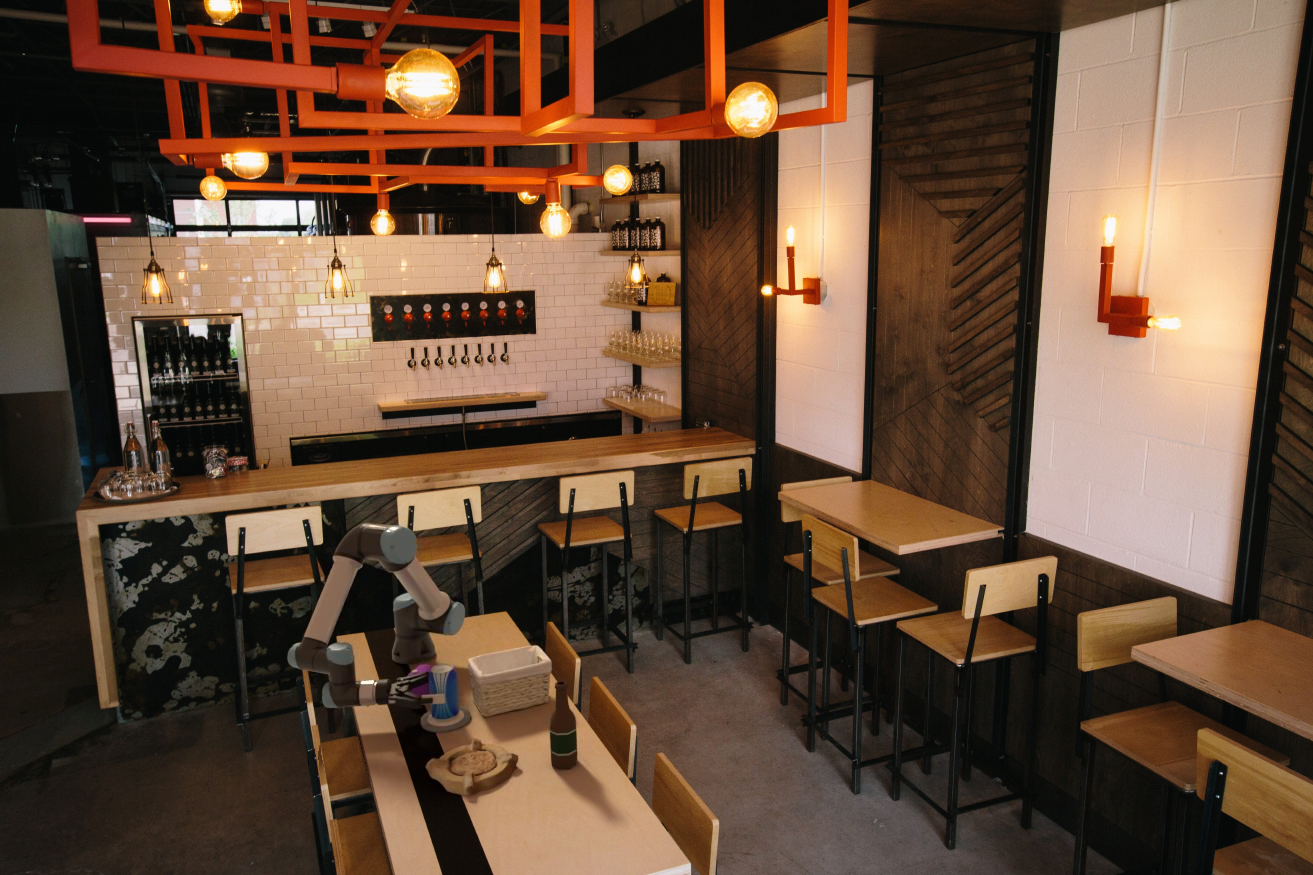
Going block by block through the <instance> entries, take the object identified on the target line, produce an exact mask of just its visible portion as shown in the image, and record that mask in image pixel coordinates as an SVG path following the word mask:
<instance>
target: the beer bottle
mask: <svg viewBox="0 0 1313 875" xmlns="http://www.w3.org/2000/svg"><path fill="white" fill-rule="evenodd" d="M568 688H569V686H568V682H567V681H565V680H560V681H556V682H555V684H554V689H555V707H554V708H555V709H554V711H553V712H552V714H551V717H550V719H549V720H550V721H549V742H550V743H549V744H550V747H549V748H550V760H551V761H550V762H551V763H550V764H551V767H552V768H554V769H556V770H558V771H566V770H571V769H573V768H575V767H576V766H577V765H578V740H577V739H578V736H577V734H578V733H577V732H578V731H577V718H576V716H575V713H574V712H573V710H571V708H570V704H569V697H568V696H569V694H568Z"/></svg>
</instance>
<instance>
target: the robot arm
mask: <svg viewBox="0 0 1313 875" xmlns="http://www.w3.org/2000/svg"><path fill="white" fill-rule="evenodd" d="M417 542H418V539H417V537H416V534H415V532H414V531H413V530H411V529H410V528H408V527H406V526H402V525H399V524H397V525H395V524H393V525H391V524H381V523H373V522H364V523H361V524H359V525H356V526H355V527H353V528H352V529H351V530H350V531H348V532H347V533H346V534H345V535H344V537H343V538H342V539H341V540H340V542H339V544H338V545H337V547H336V549H335V551H334V553H333V556H332V561H333V564H332V568H330V571H329V574H328V576H327V579H326V582H325V583H324V586H323V589H322V591H321V594H320V597H318V598H319V599H318V601H317V603H316V606H315V609H314V611H313V613H312V615H311V618H310V621H309V623H308V626H307V628H306V630H305V632H304V634H303V638H302V640H301V642H297V643H294V644H293V645H292V646H291V647H290V648H289V650H288V652H287V662H288V665H290V666H291V667H292V668H296V669H299V670H301V671H309V672H315V673H318V674H319V673H320V674H325V675H328V680H329V682H326V683H325V684H324V686H323V688H322V694H321V695H322V696H321V698H322V704H323V706H324V707H325V708H329V709H332V708H333V709H334V708H335V709H336V708H337V709H341V708H351V707H354V708H355V707H366V708H367V707H368V708H369V707H370V706H376V705H378V706H384V705H385V706H386V705H387V706H394V707H395V706H397V707H401V708H407V709H413V710H419V709H422V708H423V705H425V706H426V705H431V704H442V703H445V696H444V694H432V695H422V698H421V697H420V696H417V695H414V694H412V693H409V692H410V691H411V690H412V689H414V688H416V687H419V686H422V685H424V684H427V683H429V675H430V672H423V673H419V674H415V675H411V676H408V675H407V676H404V677H397V678H396V682H394V683H393V682H392V680H391V679H389V678H383V679H382V678H381V679H378V680H376V679H368V680H367V679H365V680H357V676H356V663H355V660H356V659H355V654H354V649H353V645H352V643H350V642H346V641H341V642H340V641H339V642H335V643H332V644H330V645H329V642H330V639H331V637H332V634H333V632H334V630H335V626H336V624H337V621H338V620H339V616H340V614H341V612H342V609H343V607H344V603H346V602H345V601H346V599H347V597H348V594H349V591H350V589H351V587H352V585H353V583H354V579H355V577H356V575H357V572H358V571H359V570H360V569H361V568H363V566H364V563H365V561H366V560H371V561H378V562H379V564H380V565H381V566H382V568H383V569H384V570H385V571H387V572H388V573H393V574H394V575H395V576H396V578H397V579H398V580H399V582H400V583H401V585H402V586H403V588H404V589H405V590H406V591H407V592H406V593H402V594H400V595H399V596H397V597H396V598H394V599H393V605H392V606H393V609H392V611H393V619H394V622H393V623H394V629H395V630H394V631H395V638H394V639H395V640H394V643H393V647H392V651H391V654H392V655H391V657H392V661H393V662H395V663H397V664H402V665H414V664H419V663H420V664H421V663H423V662H426V661H429V660H430V659H432V658H433V657H434V656H436V645H435V643H434V642H433V639H432V636H431V634H437V635H442V636H446V637H447V636H450V637H451V636H456V635H457V634H458V633H459V632H460V630H461V629H462V627H463V625H464V622H465V616H466V609H465V606H464V605H463V604H462V602H461V603H460V602H458V601H453V600H452V598H450V596H449V595H448V594H447V592H444V591H440V589H439V588H438V587H437V584H435V582H434V581H433V579H432V578H431V576H430V575H429V574H428V572H427V571H426V569H425V568H424V566H422V564H421V562H419V559H418V558H417V551H418V544H417ZM430 633H431V634H430ZM328 645H329V646H328ZM327 646H328V647H327Z"/></svg>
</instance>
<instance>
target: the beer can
mask: <svg viewBox="0 0 1313 875" xmlns="http://www.w3.org/2000/svg"><path fill="white" fill-rule="evenodd" d="M435 665H436V666H434V665H433V666H434V667H432V669H431V673H430V675H429V689H430V695H432V694H444V696H445V703H442V704H430V710H431V715H432V717H433V718H434V719H435V720H436V721H437V722H449V721H452V720H454V719H455V718H456V717H457V715H458V714H459V706H460V702H459V686H458V685H459V684H458V673H457V671H456V669H455V668H454V665H452V664H451V663H439V664H435Z"/></svg>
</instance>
